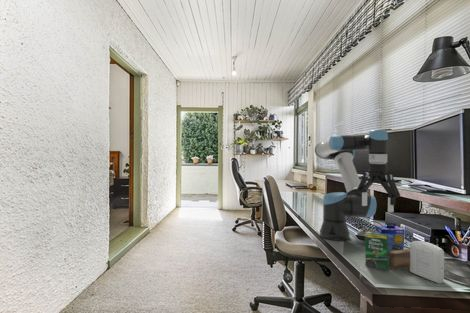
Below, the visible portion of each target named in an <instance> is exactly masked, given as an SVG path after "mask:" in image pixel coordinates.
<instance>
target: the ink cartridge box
mask: <svg viewBox="0 0 470 313" xmlns="http://www.w3.org/2000/svg"><path fill="white" fill-rule="evenodd" d="M375 233H379V234H387V235H388V256H389V252H391V251H398V250H405V229H404V228H402V227H400V226H397V223H396V222H387V224H386V225H376V226H375Z"/></svg>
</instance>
